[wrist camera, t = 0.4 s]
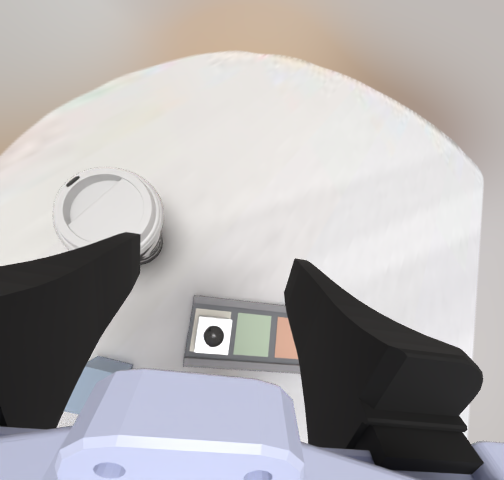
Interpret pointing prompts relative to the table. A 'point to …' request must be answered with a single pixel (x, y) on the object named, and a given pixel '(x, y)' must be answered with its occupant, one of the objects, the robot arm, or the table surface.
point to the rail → (246, 337)
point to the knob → (212, 335)
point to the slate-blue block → (92, 380)
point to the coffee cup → (109, 210)
